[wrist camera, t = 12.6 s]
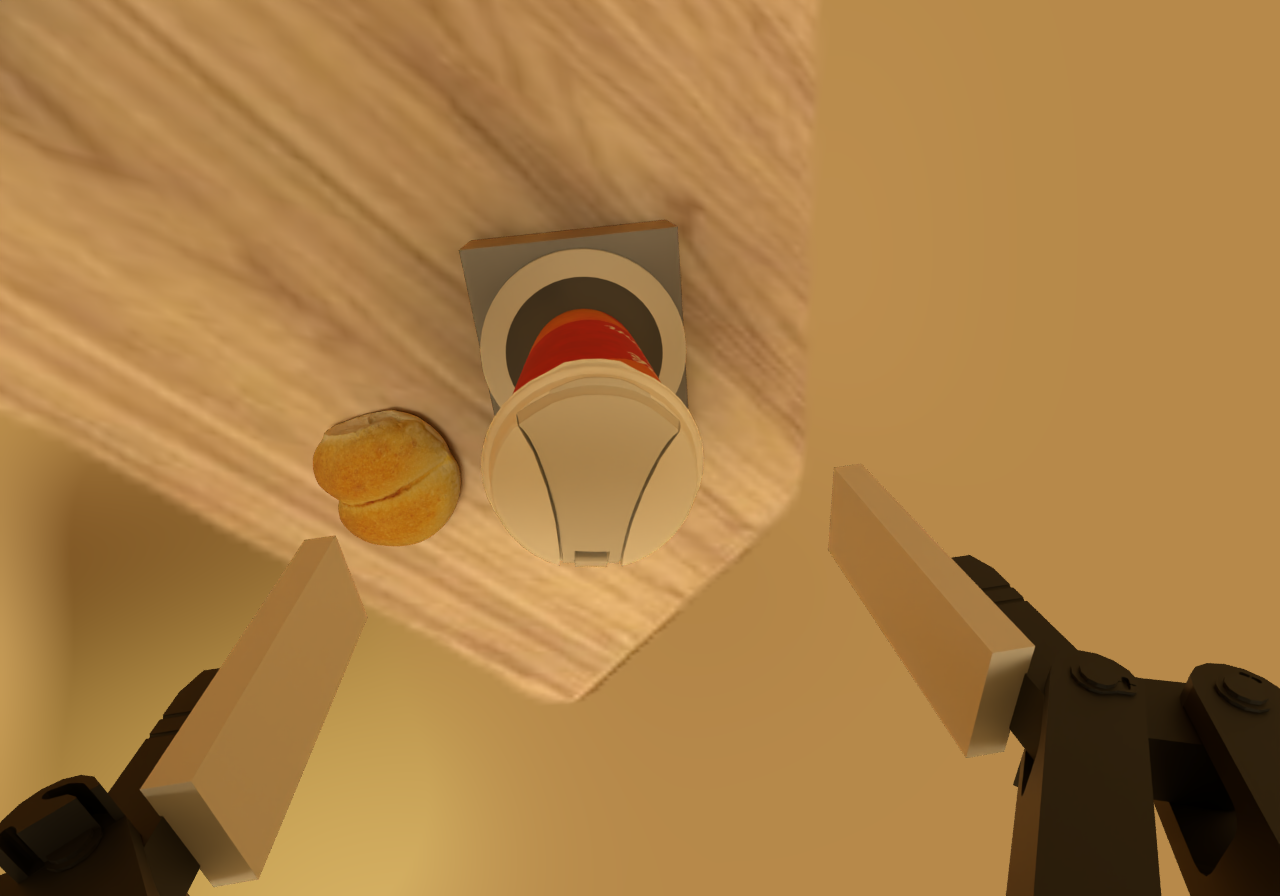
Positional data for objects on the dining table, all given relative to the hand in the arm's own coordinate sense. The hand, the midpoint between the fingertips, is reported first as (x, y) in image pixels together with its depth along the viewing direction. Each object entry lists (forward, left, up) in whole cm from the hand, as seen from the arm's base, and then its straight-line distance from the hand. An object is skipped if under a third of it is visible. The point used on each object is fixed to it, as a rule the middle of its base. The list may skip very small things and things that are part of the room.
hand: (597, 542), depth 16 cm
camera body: (+2, 0, -22) cm, 22 cm away
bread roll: (+8, -13, -23) cm, 27 cm away
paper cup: (0, 0, -18) cm, 18 cm away
